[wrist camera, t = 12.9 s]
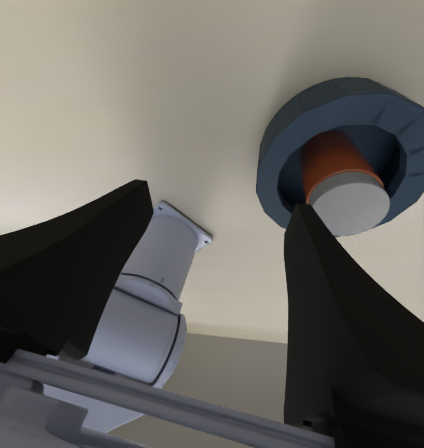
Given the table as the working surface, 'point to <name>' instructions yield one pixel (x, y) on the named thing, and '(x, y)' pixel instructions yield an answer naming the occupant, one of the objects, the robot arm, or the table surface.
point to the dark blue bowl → (352, 125)
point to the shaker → (342, 184)
